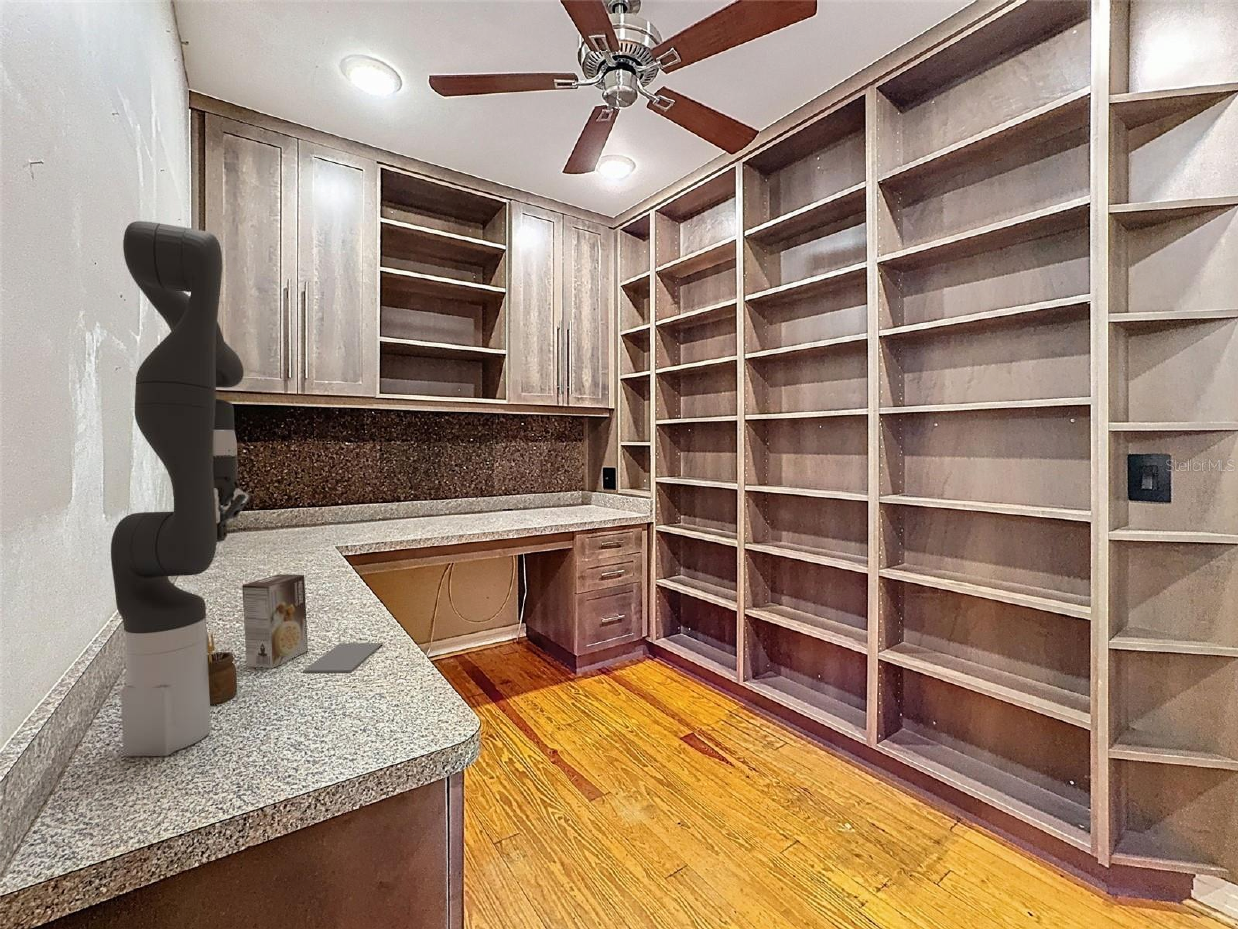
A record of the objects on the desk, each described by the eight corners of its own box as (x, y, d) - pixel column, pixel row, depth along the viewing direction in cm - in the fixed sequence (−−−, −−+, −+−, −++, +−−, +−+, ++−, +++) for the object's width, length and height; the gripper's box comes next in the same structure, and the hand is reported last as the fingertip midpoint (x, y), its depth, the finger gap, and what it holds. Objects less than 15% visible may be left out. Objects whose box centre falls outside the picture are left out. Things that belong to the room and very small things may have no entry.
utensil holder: (241, 687, 98) (238, 620, 98) (231, 703, 92) (228, 632, 92) (201, 693, 96) (198, 625, 96) (188, 710, 90) (184, 637, 90)
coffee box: (282, 649, 116) (279, 573, 116) (308, 651, 115) (306, 574, 114) (244, 667, 107) (241, 584, 107) (272, 669, 106) (269, 585, 105)
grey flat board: (351, 672, 104) (350, 670, 104) (302, 673, 104) (302, 670, 104) (382, 645, 118) (382, 642, 118) (340, 645, 118) (340, 643, 118)
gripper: (164, 454, 106) (169, 545, 107) (234, 453, 106) (238, 544, 106) (194, 453, 113) (198, 538, 114) (259, 452, 113) (263, 537, 114)
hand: (217, 541), depth 110 cm, fingers closed
